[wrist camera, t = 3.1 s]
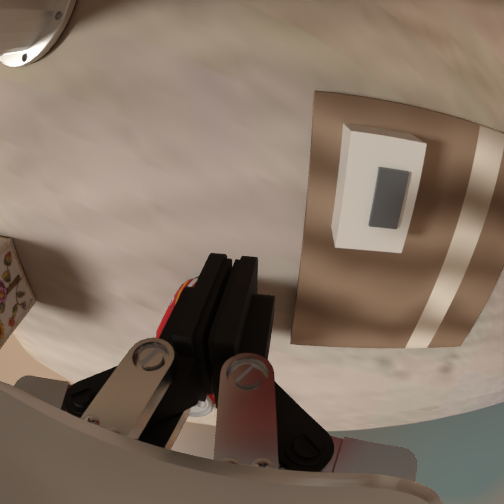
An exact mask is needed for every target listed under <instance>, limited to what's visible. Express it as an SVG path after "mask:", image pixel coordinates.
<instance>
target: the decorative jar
mask: <svg viewBox="0 0 504 504" xmlns="http://www.w3.org/2000/svg"><path fill="white" fill-rule="evenodd" d="M35 301H36V298H35V296H34V294H33V292H32V290H31V287H30V285H29V283H28V281H27V279H26V276H25V273H24V271H23V268H22V266H21V263H20V260H19V258H18V255H17V253H16V250H15V247H14V244H13V240H12V239H11V238H4V237H0V349H1V347H2V346H3V345H4V343H5V342H6V340H7V339H8V338H9V336H10V335H11V334H12V332H13V331H14V330H15V329H16V327H17V326H18V325H19V323H20V322H21V321H22V320H23V318H24V317H25V316H26V315H27V313H28V312H29V310H30V309H31V308H32V306H33V305H34V303H35Z"/></svg>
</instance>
